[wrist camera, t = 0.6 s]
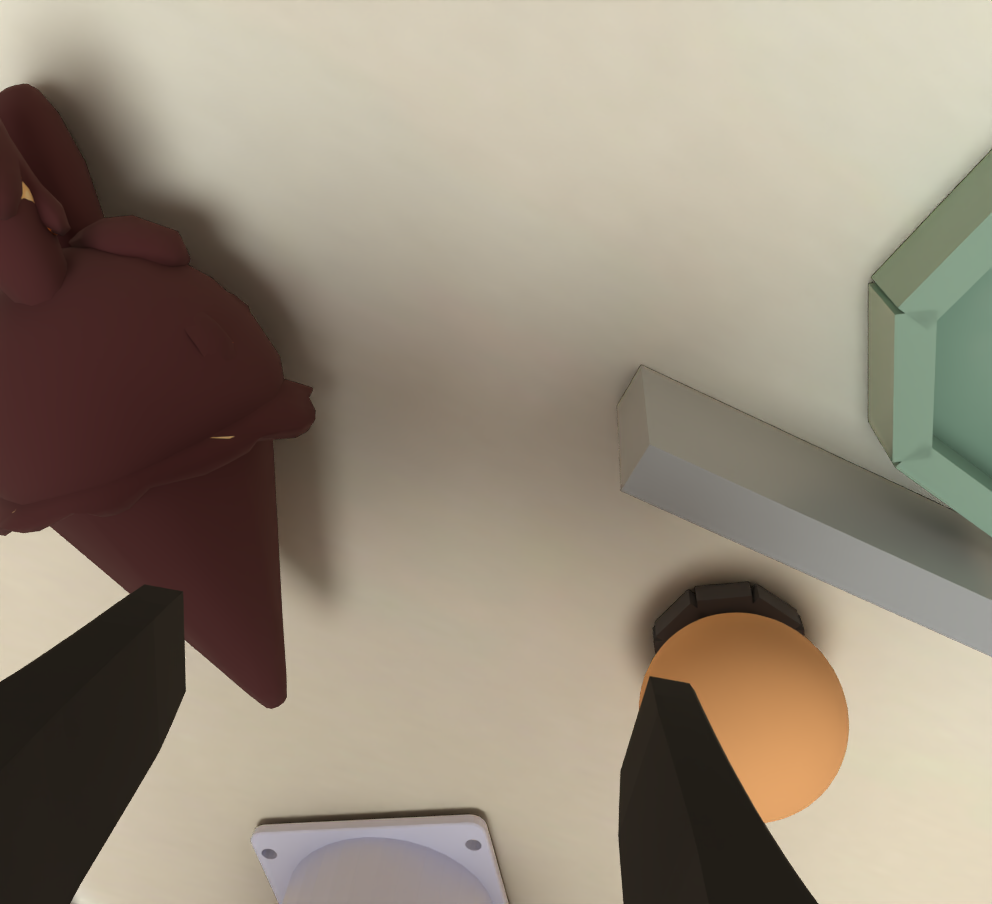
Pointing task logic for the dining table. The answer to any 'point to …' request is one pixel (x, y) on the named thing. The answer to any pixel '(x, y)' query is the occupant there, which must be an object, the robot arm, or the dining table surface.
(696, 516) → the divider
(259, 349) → the icecream
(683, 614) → the ring
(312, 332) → the dining table surface
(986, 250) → the dish
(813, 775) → the ball
